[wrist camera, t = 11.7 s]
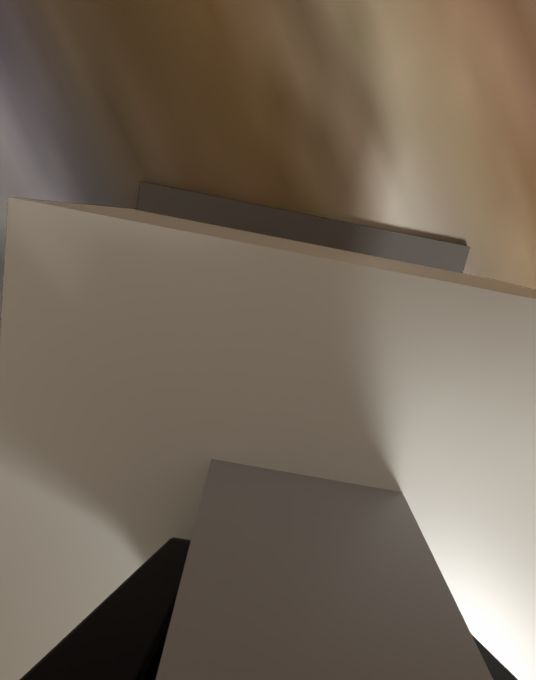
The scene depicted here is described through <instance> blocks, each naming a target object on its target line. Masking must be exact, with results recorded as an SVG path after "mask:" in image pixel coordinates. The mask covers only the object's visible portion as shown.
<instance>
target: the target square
mask: <svg viewBox="0 0 536 680" xmlns="http://www.w3.org/2000/svg"><path fill="white" fill-rule="evenodd" d="M137 210H140V211H145V212H150V213H155V214H160V215H165V216H170V217H176V218H181V219H186V220H191V221H196V222H201V223H206V224H212V225H217V226H222V227H227V228H232V229H237V230H242V231H248V232H253V233H258V234H263V235H268V236H273V237H278V238H284V239H289V240H294V241H299V242H304V243H309V244H314V245H319V246H325V247H330V248H335V249H340V250H345V251H350V252H355V253H361V254H366V255H371V256H376V257H381V258H386V259H391V260H397V261H402V262H407V263H412V264H417V265H422V266H427V267H433V268H438V269H443V270H448V271H453V272H458V273H463V270H464V266H465V263H466V259H467V256H468V252H469V249H470V247H469V246H463V245H458V244H453V243H448V242H443V241H438V240H433V239H428V238H423V237H418V236H413V235H408V234H403V233H398V232H393V231H388V230H383V229H378V228H372V227H367V226H362V225H357V224H352V223H347V222H342V221H337V220H332V219H327V218H322V217H317V216H312V215H307V214H302V213H297V212H292V211H287V210H282V209H276V208H271V207H266V206H261V205H256V204H251V203H246V202H241V201H236V200H231V199H226V198H221V197H216V196H211V195H206V194H201V193H196V192H191V191H186V190H180V189H175V188H170V187H165V186H160V185H155V184H150V183H145V182H140V187H139V195H138V204H137Z"/></svg>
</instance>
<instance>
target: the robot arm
mask: <svg viewBox="0 0 536 680" xmlns="http://www.w3.org/2000/svg"><path fill="white" fill-rule="evenodd" d="M190 542H191V540H188V539H182V538H176V537H173V538H170V539H169V540H168V541H167V542H166V543H165V544H164V545H163V546H162V547H161V548H159V549H158V550H157V551H156V552H155V553H154V554H153V555H152V556H151V557H150V558H149V559H148V560H147V561H146V562H145V563H143V564H142V565H141V566H140V567H139V568H138V569H137V570H136V571H135V572H134V573H133V574H132V575H131V576H130V577H129V578H127V579H126V580H125V581H124V582H123V583H122V584H121V585H120V586H119V587H118V588H117V589H116V590H115V591H114V592H112V593H111V594H110V595H109V596H108V597H107V598H106V599H105V600H104V601H103V602H102V603H101V604H100V605H99V606H98V607H96V608H95V609H94V610H93V611H92V612H91V613H90V614H89V615H88V616H87V617H86V618H85V619H84V620H83V621H82V622H80V623H79V624H78V625H77V626H76V627H75V628H74V629H73V630H72V631H71V632H70V633H69V634H68V635H67V636H65V637H64V638H63V639H62V640H61V641H60V642H59V643H58V644H57V645H56V646H55V647H54V648H53V649H52V650H51V651H49V652H48V653H47V654H46V655H45V656H44V657H43V658H42V659H41V660H40V661H39V662H38V663H37V664H36V665H35V666H33V667H32V668H31V669H30V670H29V671H28V672H27V673H26V674H25V675H24V676H23V677H22V678H21V679H20V680H156V676H157V672H158V668H159V664H160V660H161V657H162V653H163V649H164V645H165V641H166V637H167V633H168V629H169V625H170V621H171V617H172V613H173V609H174V605H175V601H176V597H177V593H178V589H179V585H180V581H181V577H182V574H183V570H184V566H185V562H186V558H187V554H188V550H189V546H190ZM471 635H472V634H471ZM472 637H473V639H474V641H475V643H476V645H477V647H478V649H479V651H480V653H481V655H482V657H483V659H484V661H485V664H486V666H487V668H488V670H489V672H490V674H491V676H492V678H493V680H518V679H517V678H516V677H515V676H514V675H513V674H512V673H511V672H510V671H509V670H508V669H507V668H506V667H505V666H504V665H503V664H502V663H501V662H500V661H499V660H498V659H496V658H495V657H494V656H493V655H492V654H491V653H490V652H489V651H488V650H487V649H486V648H485V647H484V646H483V645H482V644H481V643H480V642H479V641H478V640H477V639H476V638H475V637H474V636H473V635H472Z"/></svg>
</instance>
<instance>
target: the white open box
mask: <svg viewBox="0 0 536 680" xmlns="http://www.w3.org/2000/svg"><path fill="white" fill-rule="evenodd" d="M173 537H176V538H182V539H188V540H191V542H190V546H189V550H188V554H187V558H186V562H185V566H184V570H183V574H182V577H181V581H180V585H179V589H178V593H177V597H176V601H175V605H174V609H173V613H172V617H171V621H170V625H169V629H168V633H167V637H166V641H165V645H164V649H163V653H162V657H161V660H160V664H159V668H158V672H157V676H156V680H493V678H492V676H491V674H490V672H489V670H488V668H487V666H486V664H485V661H484V659H483V657H482V655H481V653H480V651H479V649H478V647H477V645H476V643H475V641H474V639H473V637H472V635H473V636H474V637H475V638H476V639H477V640H478V641H479V642H480V643H481V644H482V645H483V646H484V647H485V648H486V649H487V650H488V651H489V652H490V653H491V654H492V655H493V656H494V657H495V658H496V659H498V660H499V661H500V662H501V663H502V664H503V665H504V666H505V667H506V668H507V669H508V670H509V671H510V672H511V673H512V674H513V675H514V676H515V677H516V678H517V679H518V680H536V290H535V289H531V288H527V287H523V286H519V285H515V284H511V283H507V282H503V281H499V280H494V279H489V278H484V277H479V276H474V275H469V274H463V273H458V272H453V271H448V270H443V269H438V268H433V267H427V266H422V265H417V264H412V263H407V262H402V261H397V260H391V259H386V258H381V257H376V256H371V255H366V254H361V253H355V252H350V251H345V250H340V249H335V248H330V247H325V246H319V245H314V244H309V243H304V242H299V241H294V240H289V239H284V238H278V237H273V236H268V235H263V234H258V233H253V232H248V231H242V230H237V229H232V228H227V227H222V226H217V225H212V224H206V223H201V222H196V221H191V220H186V219H181V218H176V217H170V216H165V215H160V214H155V213H150V212H145V211H140V210H134V209H128V208H117V207H107V206H97V205H86V204H76V203H66V202H55V201H45V200H35V199H25V198H14V197H8V206H7V224H6V242H5V260H4V278H3V297H2V315H1V333H0V680H20V679H21V678H22V677H23V676H24V675H25V674H26V673H27V672H28V671H29V670H30V669H31V668H32V667H33V666H35V665H36V664H37V663H38V662H39V661H40V660H41V659H42V658H43V657H44V656H45V655H46V654H47V653H48V652H49V651H51V650H52V649H53V648H54V647H55V646H56V645H57V644H58V643H59V642H60V641H61V640H62V639H63V638H64V637H65V636H67V635H68V634H69V633H70V632H71V631H72V630H73V629H74V628H75V627H76V626H77V625H78V624H79V623H80V622H82V621H83V620H84V619H85V618H86V617H87V616H88V615H89V614H90V613H91V612H92V611H93V610H94V609H95V608H96V607H98V606H99V605H100V604H101V603H102V602H103V601H104V600H105V599H106V598H107V597H108V596H109V595H110V594H111V593H112V592H114V591H115V590H116V589H117V588H118V587H119V586H120V585H121V584H122V583H123V582H124V581H125V580H126V579H127V578H129V577H130V576H131V575H132V574H133V573H134V572H135V571H136V570H137V569H138V568H139V567H140V566H141V565H142V564H143V563H145V562H146V561H147V560H148V559H149V558H150V557H151V556H152V555H153V554H154V553H155V552H156V551H157V550H158V549H159V548H161V547H162V546H163V545H164V544H165V543H166V542H167V541H168V540H169V539H170V538H173ZM471 634H472V635H471Z"/></svg>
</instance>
